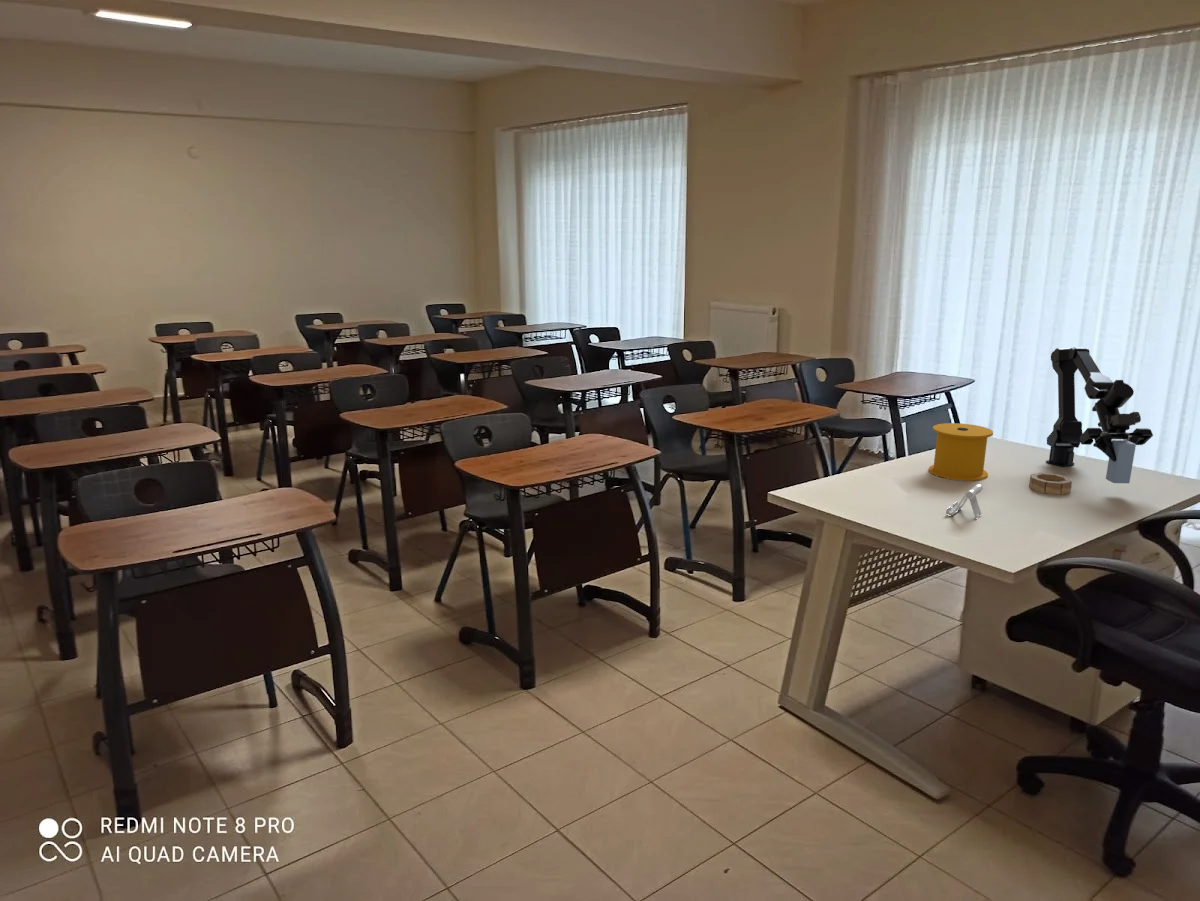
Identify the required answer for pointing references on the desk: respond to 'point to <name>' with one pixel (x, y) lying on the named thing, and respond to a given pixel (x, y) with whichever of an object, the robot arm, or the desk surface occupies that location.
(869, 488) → the desk surface
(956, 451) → the spool
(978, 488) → the portable electronic device stand
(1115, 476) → the light blue block
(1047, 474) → the octagonal cardboard ring
